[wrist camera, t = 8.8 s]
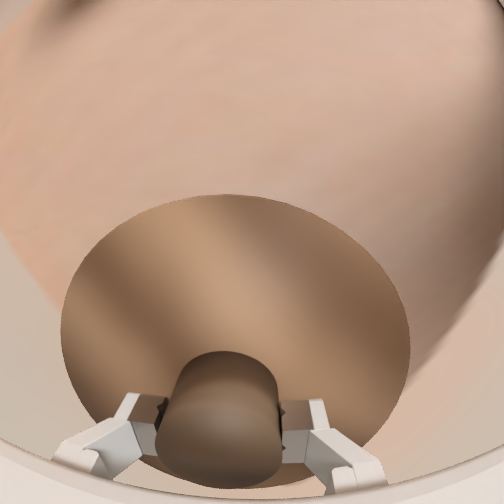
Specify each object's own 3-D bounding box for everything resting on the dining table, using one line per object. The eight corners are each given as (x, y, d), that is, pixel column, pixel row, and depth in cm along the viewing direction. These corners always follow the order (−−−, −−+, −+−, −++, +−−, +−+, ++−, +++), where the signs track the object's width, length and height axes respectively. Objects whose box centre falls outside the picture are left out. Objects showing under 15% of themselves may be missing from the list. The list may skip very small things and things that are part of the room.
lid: (190, 108, 10) (149, 69, 6) (457, 343, 12) (507, 393, 7) (37, 371, 13) (-6, 416, 8) (255, 501, 15) (253, 555, 10)
